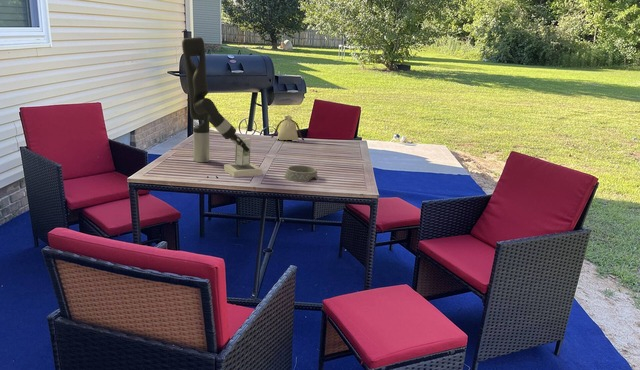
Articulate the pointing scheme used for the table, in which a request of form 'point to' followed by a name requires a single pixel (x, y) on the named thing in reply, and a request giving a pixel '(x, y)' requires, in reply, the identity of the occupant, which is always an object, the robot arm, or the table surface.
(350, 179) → the table surface
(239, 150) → the syrup box
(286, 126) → the pouch
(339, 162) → the table surface
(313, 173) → the dog bowl
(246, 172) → the plinth
